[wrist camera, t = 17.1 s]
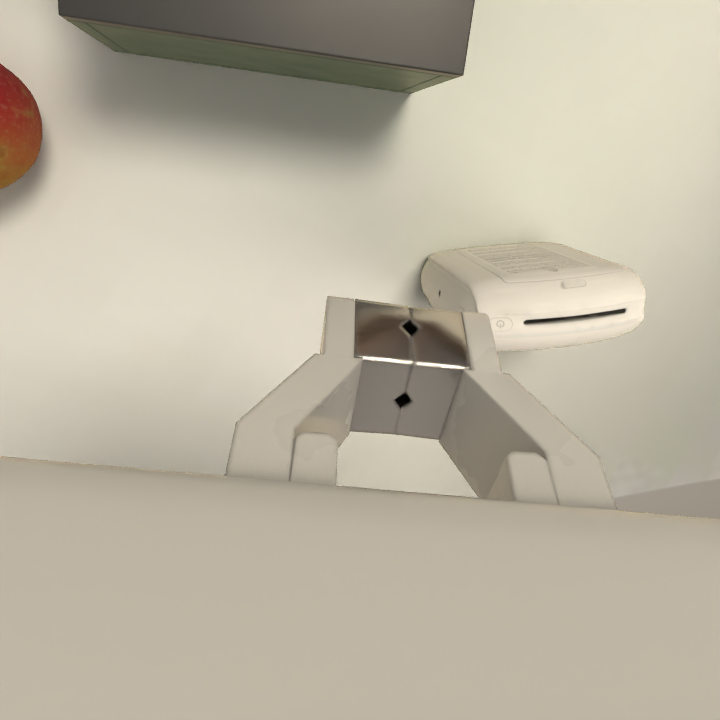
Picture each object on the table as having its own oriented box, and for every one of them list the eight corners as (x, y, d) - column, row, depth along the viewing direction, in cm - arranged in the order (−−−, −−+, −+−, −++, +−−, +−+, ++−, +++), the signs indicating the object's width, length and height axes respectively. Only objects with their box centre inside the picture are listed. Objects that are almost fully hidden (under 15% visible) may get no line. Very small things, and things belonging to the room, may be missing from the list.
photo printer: (419, 311, 44) (476, 370, 32) (417, 249, 42) (475, 288, 31) (559, 296, 45) (662, 349, 33) (562, 236, 44) (670, 269, 32)
